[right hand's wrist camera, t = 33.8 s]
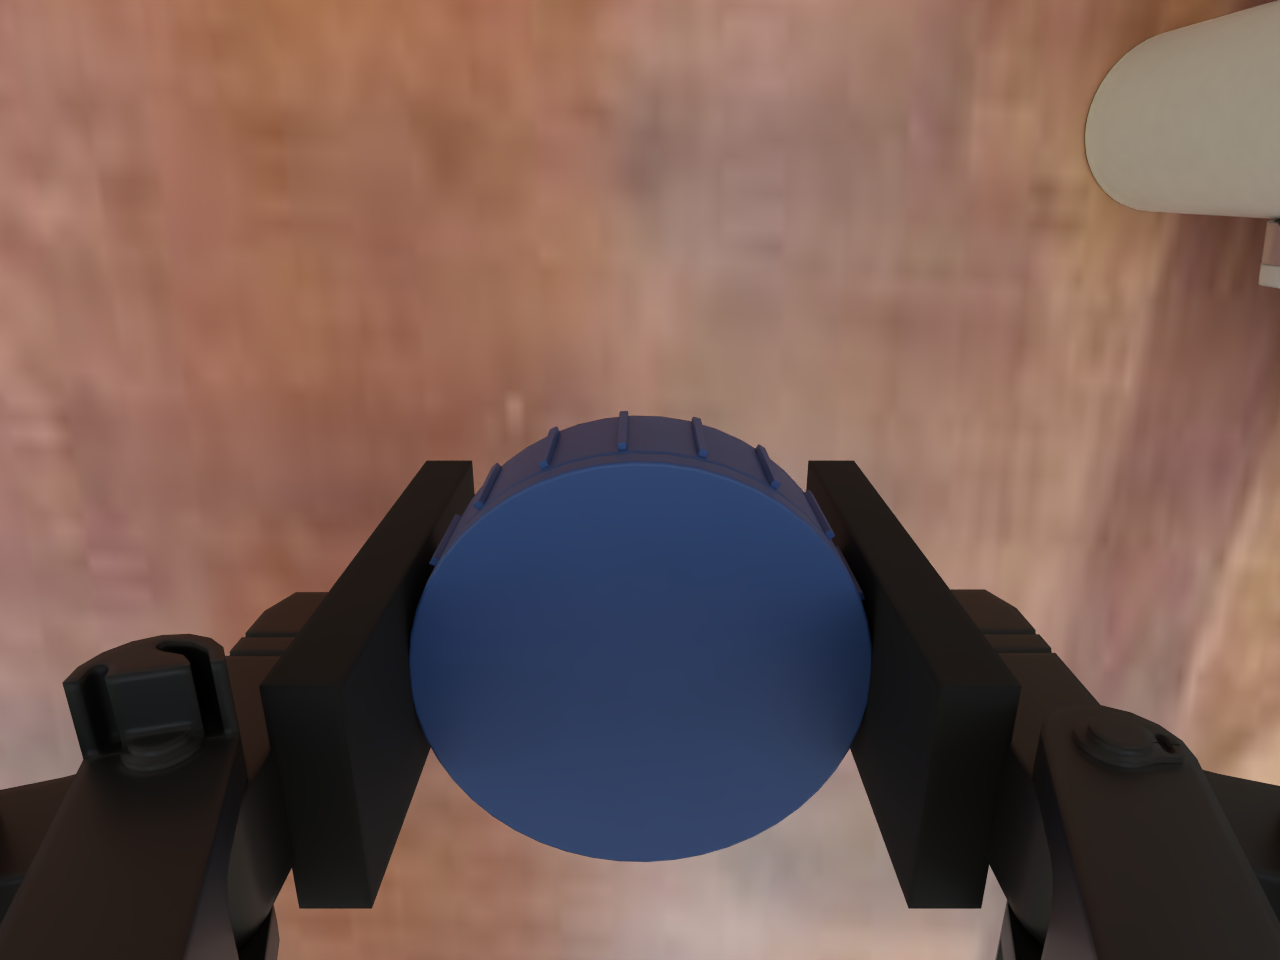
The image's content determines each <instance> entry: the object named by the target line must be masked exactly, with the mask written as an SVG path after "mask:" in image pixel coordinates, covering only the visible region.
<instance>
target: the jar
mask: <svg viewBox="0 0 1280 960" xmlns="http://www.w3.org/2000/svg"><path fill="white" fill-rule="evenodd" d="M1085 147H1086V155H1087V159H1088V163H1089V166H1090V169H1091V171H1092V174H1093V176H1094V177H1095V179H1096V181H1097V183H1098V184H1099V185H1100V187H1101V188H1102V189H1103V190H1104V192H1106V193H1107V194H1108V195H1109V196H1110V197H1111V198H1112V199H1114V200H1115V201H1117V202H1118V203H1120V204H1122V205H1124V206H1127V207H1129V208H1132V209H1136V210H1140V211H1148V212H1164V213H1182V214H1199V215H1216V216H1234V217H1251V218H1268V219H1280V0H1277V1H1273V2H1270V3H1266V4H1263V5H1259V6H1255V7H1252V8H1248V9H1245V10H1241V11H1238V12H1234V13H1231V14H1227V15H1224V16H1220V17H1217V18H1213V19H1210V20H1206V21H1203V22H1199V23H1196V24H1192V25H1189V26H1185V27H1181V28H1178V29H1174V30H1171V31H1168V32H1164V33H1161V34H1158V35H1156V36H1154V37H1151V38H1149V39H1147V40H1145V41H1144V42H1142V43H1140V44H1139V45H1137V46H1136V47H1134V48H1133V49H1132V50H1130V51H1129V52H1128V53H1126V54H1125V55H1124V56H1123V57H1122V58H1121V59H1120V60H1119V61H1118V62H1117V63H1116V64H1115V65H1114V67H1113V68H1112V69H1111V70H1110V71H1109V73H1108V74H1107V76H1106V77H1105V79H1104V80H1103V82H1102V83H1101V85H1100V87H1099V89H1098V90H1097V92H1096V94H1095V96H1094V99H1093V102H1092V104H1091V107H1090V110H1089V114H1088V117H1087V123H1086V130H1085Z"/></svg>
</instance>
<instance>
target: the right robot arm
mask: <svg viewBox="0 0 1280 960" xmlns="http://www.w3.org/2000/svg"><path fill="white" fill-rule="evenodd" d="M808 490H810V491H811V493H812V494H813V495H814V497H815V499H816V501H817V503H818V505H819V507H820V508H821V510H822V512H823V514H824V516H825V518H826V520H827V521H828V523H829V525H830V527H831V529H832V531H833V532H834V534H835V537H833V538H832V539H831V540H832V541H833V543H834V545H835V547H837V546H838V547H839V548H840V550H841V552H842V554H843V556H844V558H845V559H846V561H847V563H848V565H849V567H850V569H851V571H852V573H853V574H854V576H855V578H856V580H857V582H858V584H859V586H860V588H861V589H862V591H863V594H864V597H865V599H864V600H862V603H863V606H864V609H865V613H866V616H867V619H868V623H869V630H870V636H871V642H872V665H871V675H870V684H869V693H868V701H867V706H866V709H865V712H864V716H863V719H862V722H861V725H860V727H859V730H858V732H857V734H856V736H855V738H854V740H853V742H852V744H851V747H850V749H851V752H852V755H853V757H854V760H855V763H856V765H857V768H858V771H859V774H860V776H861V779H862V782H863V785H864V787H865V790H866V793H867V796H868V798H869V801H870V804H871V806H872V809H873V812H874V815H875V817H876V820H877V823H878V826H879V828H880V831H881V834H882V837H883V839H884V842H885V845H886V848H887V850H888V853H889V856H890V858H891V861H892V864H893V867H894V869H895V872H896V875H897V878H898V880H899V883H900V886H901V889H902V891H903V894H904V897H905V900H906V902H907V905H908V908H981V906H982V901H983V895H984V890H985V884H986V879H987V873H988V868H989V865H990V867H991V869H992V870H993V872H994V874H995V876H996V878H997V880H998V882H999V884H1000V886H1001V888H1002V890H1003V892H1004V894H1005V896H1006V898H1007V904H1006V909H1005V914H1004V919H1003V924H1002V929H1001V934H1000V939H999V945H998V950H997V955H996V960H1280V786H1277V785H1272V784H1266V783H1261V782H1256V781H1251V780H1246V779H1241V778H1236V777H1231V776H1226V775H1221V774H1217V773H1213V772H1209V771H1205V770H1202V768H1201V766H1200V764H1199V762H1198V760H1197V758H1196V757H1195V756H1194V755H1193V753H1192V752H1191V751H1190V750H1189V748H1188V747H1187V746H1186V745H1185V744H1184V742H1183V741H1182V740H1180V739H1179V738H1177V737H1176V736H1175V735H1173V734H1172V733H1170V732H1169V731H1167V730H1166V729H1164V728H1163V727H1162V726H1160V725H1158V724H1156V723H1154V722H1151V721H1149V720H1147V719H1145V718H1142V717H1140V716H1138V715H1135V714H1133V713H1131V712H1127V711H1122V710H1118V709H1114V708H1110V707H1106V706H1102V705H1100V704H1099V703H1098V702H1097V701H1096V699H1095V698H1094V697H1093V696H1092V695H1091V694H1090V692H1089V691H1088V690H1087V689H1086V688H1085V687H1084V686H1083V684H1082V683H1081V682H1080V681H1079V680H1078V679H1077V677H1076V676H1075V675H1074V674H1073V673H1072V672H1071V671H1070V669H1069V668H1068V667H1067V666H1066V665H1065V664H1064V662H1063V661H1062V660H1061V659H1060V658H1059V657H1058V656H1057V654H1056V653H1052V652H1051V647H1050V646H1049V645H1048V644H1047V643H1046V642H1045V641H1044V639H1043V638H1042V637H1041V636H1040V635H1039V634H1036V633H1035V629H1034V628H1033V627H1032V626H1031V624H1030V623H1029V622H1028V621H1027V620H1026V619H1025V617H1024V616H1023V615H1022V614H1021V613H1020V612H1019V611H1018V609H1017V608H1015V607H1013V606H1012V605H1010V604H1008V603H1007V602H1005V601H1003V600H1002V599H1000V598H998V597H997V596H995V595H993V594H992V593H990V592H988V591H986V590H950V589H949V588H948V586H947V585H946V584H945V582H944V581H943V580H942V578H941V577H940V576H939V574H938V573H937V572H936V570H935V569H934V568H933V566H932V565H931V564H930V562H929V561H928V560H927V558H926V557H925V555H924V554H923V553H922V551H921V550H920V549H919V547H918V546H917V545H916V543H915V542H914V541H913V539H912V538H911V537H910V535H909V534H908V533H907V531H906V530H905V529H904V527H903V526H902V525H901V523H900V522H899V521H898V519H897V518H896V517H895V515H894V514H893V513H892V511H891V510H890V509H889V507H888V506H887V505H886V503H885V502H884V500H883V499H882V498H881V496H880V495H879V494H878V492H877V491H876V490H875V488H874V487H873V486H872V484H871V483H870V482H869V480H868V479H867V478H866V476H865V475H864V474H863V472H862V471H861V470H860V468H859V467H858V466H857V464H856V463H855V462H854V461H809V462H808V475H807V489H806V491H808ZM473 497H474V482H473V468H472V461H426V462H425V464H424V465H423V466H422V468H421V469H420V470H419V472H418V473H417V474H416V476H415V477H414V478H413V480H412V481H411V482H410V484H409V485H408V486H407V488H406V489H405V490H404V492H403V493H402V495H401V496H400V497H399V499H398V500H397V501H396V503H395V504H394V505H393V507H392V508H391V509H390V511H389V512H388V513H387V515H386V516H385V517H384V519H383V520H382V521H381V523H380V524H379V525H378V527H377V528H376V529H375V531H374V532H373V533H372V535H371V536H370V537H369V539H368V540H367V541H366V543H365V544H364V545H363V547H362V548H361V550H360V551H359V552H358V554H357V555H356V556H355V558H354V559H353V560H352V562H351V563H350V564H349V566H348V567H347V568H346V570H345V571H344V572H343V574H342V575H341V576H340V578H339V579H338V580H337V582H336V583H335V584H334V586H333V587H332V588H331V590H330V591H329V592H296V593H294V594H292V595H291V596H289V597H287V598H286V599H284V600H282V601H281V602H279V603H277V604H276V605H274V606H272V607H271V608H269V609H267V610H266V611H264V612H263V613H262V615H261V616H260V617H259V618H258V619H257V620H256V622H255V623H254V624H253V625H252V626H251V627H250V629H249V630H248V631H247V632H246V636H245V637H242V638H241V639H240V640H239V641H238V643H237V644H236V645H235V646H234V647H233V648H232V650H231V651H230V656H225V654H224V649H223V647H222V646H221V645H220V644H218V643H217V642H216V641H214V640H213V639H211V638H208V637H203V636H198V635H192V634H177V635H161V636H156V637H151V638H146V639H142V640H137V641H132V642H129V643H127V644H124V645H121V646H119V647H116V648H113V649H111V650H108V651H105V652H103V653H101V654H99V655H98V656H96V657H94V658H92V659H91V660H89V661H87V662H86V663H84V664H82V665H80V666H79V667H77V669H76V670H75V671H74V672H73V673H72V674H71V675H70V676H69V677H68V678H67V679H66V680H65V681H64V682H63V687H64V690H65V694H66V697H67V701H68V705H69V708H70V712H71V716H72V719H73V723H74V726H75V730H76V734H77V737H78V741H79V745H80V748H81V752H82V755H83V759H84V760H83V762H82V764H81V766H80V768H79V770H78V772H77V774H75V775H71V776H67V777H63V778H58V779H53V780H48V781H43V782H38V783H33V784H28V785H23V786H18V787H13V788H8V789H3V790H0V960H277V956H278V948H279V932H278V925H277V919H276V914H275V909H274V902H275V900H276V898H277V896H278V894H279V892H280V890H281V888H282V886H283V884H284V882H285V880H286V878H287V876H288V874H289V872H290V870H291V868H292V870H293V876H294V881H295V887H296V892H297V898H298V903H299V908H372V906H373V904H374V901H375V898H376V895H377V893H378V890H379V887H380V885H381V882H382V879H383V876H384V874H385V871H386V868H387V865H388V863H389V860H390V857H391V854H392V852H393V849H394V846H395V843H396V841H397V838H398V835H399V833H400V830H401V827H402V824H403V822H404V819H405V816H406V813H407V811H408V808H409V805H410V802H411V800H412V797H413V794H414V791H415V789H416V786H417V783H418V781H419V778H420V775H421V772H422V770H423V767H424V764H425V761H426V759H427V756H428V753H429V750H430V748H431V746H430V744H429V743H428V741H427V739H426V737H425V735H424V732H423V729H422V727H421V724H420V722H419V719H418V716H417V714H416V710H415V706H414V701H413V696H412V688H411V679H410V669H409V644H410V633H411V629H412V625H413V620H414V616H415V612H416V608H417V605H418V603H419V600H420V598H421V595H422V593H423V591H424V588H425V586H426V583H427V581H428V579H429V577H430V575H431V573H432V571H433V570H434V568H435V566H433V565H431V564H429V563H430V561H431V559H432V557H433V555H434V553H435V551H436V549H437V548H438V546H439V544H440V542H441V540H442V538H443V537H444V535H445V533H446V531H447V529H448V527H449V526H450V524H451V522H452V520H453V518H454V516H455V515H456V514H457V515H459V516H461V517H462V515H463V513H464V511H465V510H466V508H467V506H468V505H469V503H470V501H471V500H472V498H473Z"/></svg>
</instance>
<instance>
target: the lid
mask: <svg viewBox="0 0 1280 960" xmlns="http://www.w3.org/2000/svg"><path fill="white" fill-rule="evenodd" d="M833 537H835V534H834V532H833V531H832V529H831V527H830V525H829V523H828V521H827V520H826V518H825V516H824V514H823V512H822V510H821V508H820V507H819V505H818V503H817V501H816V499H815V497H814V495H813V494H812V493H811V491H810V490H808V491H806V492H805V493H804V492H803V491H802V489H801V488H800V487H799V486H798V485H797V484H796V483H795V482H794V481H793V479H792V478H791V477H790V476H789V475H788V474H787V473H786V472H785V471H784V470H783V469H782V468H780V467H779V466H778V465H777V464H776V463H774V462H773V461H772V460H771V459H770V458H769V456H768V454H767V452H766V449H765V448H764V447H762V446H761V445H758V446H757V447H756V449H755V448H753V447H752V446H750V445H748V444H747V443H745V442H743V441H742V440H740V439H738V438H735V437H733V436H731V435H729V434H726V433H724V432H722V431H720V430H717V429H715V428H711V427H708V426H704V425H702V423H701V419H700V418H696V417H693V418H692V421H686V420H680V419H673V418H667V417H658V416H628V411H621V412H620V417H615V418H605V419H601V420H596V421H592V422H587V423H583V424H578V425H576V426H573V427H570V428H567V429H565V430H562V431H559V430H558V427H555V428H552V429H550V431H549V434H548V437H546V438H544V439H542V440H540V441H538V442H536V443H534V444H532V445H530V446H528V447H527V448H526V449H524V450H523V451H521V452H520V453H518V454H517V455H516V456H514V457H513V458H511V459H510V460H509V461H507V462H506V463H505V464H504V465H503V466H502V467H501V466H500V465H499V464H498V463H496V464H495V465H494V466H493V467H492V468H491V470H490V472H489V474H488V476H487V478H486V480H485V482H484V484H483V486H482V487H481V488H480V490H479V491H478V492H477V493H476V495H475V496H474V497H473V498H472V500H471V501H470V503H469V505H468V506H467V508H466V510H465V511H464V513H463V515H462V517H461V516H459V515H457V514H456V515H455V516H454V518H453V520H452V522H451V524H450V526H449V527H448V529H447V531H446V533H445V535H444V537H443V538H442V540H441V542H440V544H439V546H438V548H437V549H436V551H435V553H434V555H433V557H432V559H431V561H430V563H429V564H431V565H433V566H435V568H434V570H433V571H432V573H431V575H430V577H429V579H428V581H427V583H426V586H425V588H424V591H423V593H422V595H421V598H420V600H419V603H418V605H417V608H416V612H415V616H414V620H413V625H412V629H411V633H410V644H409V669H410V679H411V688H412V696H413V701H414V706H415V710H416V714H417V716H418V719H419V722H420V724H421V727H422V729H423V732H424V735H425V737H426V739H427V741H428V743H429V744H430V746H431V748H432V750H433V752H434V753H435V755H436V757H437V759H438V760H439V762H440V763H441V764H442V766H443V767H444V768H445V770H446V771H447V772H448V774H449V775H450V776H451V778H452V779H453V780H454V781H455V782H456V784H457V785H458V786H459V787H460V788H461V789H462V790H463V791H464V792H465V793H466V794H467V795H468V796H469V797H470V798H471V799H472V800H473V801H474V802H476V803H477V804H478V805H479V806H481V807H482V808H483V809H484V810H486V811H487V812H488V813H489V814H491V815H492V816H493V817H495V818H496V819H498V820H500V821H501V822H503V823H504V824H506V825H508V826H509V827H511V828H512V829H514V830H516V831H518V832H520V833H522V834H524V835H526V836H528V837H530V838H532V839H534V840H536V841H538V842H541V843H544V844H546V845H549V846H552V847H555V848H558V849H561V850H563V851H567V852H571V853H575V854H579V855H583V856H588V857H592V858H599V859H607V860H615V861H633V862H652V861H665V860H676V859H682V858H687V857H693V856H698V855H703V854H706V853H710V852H713V851H717V850H720V849H723V848H727V847H730V846H732V845H734V844H737V843H739V842H742V841H744V840H747V839H749V838H751V837H754V836H756V835H757V834H759V833H761V832H763V831H765V830H766V829H768V828H770V827H772V826H774V825H775V824H777V823H779V822H780V821H781V820H783V819H784V818H786V817H787V816H788V815H790V814H791V813H793V812H794V811H796V810H797V809H798V808H800V807H801V806H802V805H803V804H804V803H805V802H806V801H807V800H808V799H809V798H811V797H812V796H813V795H814V794H815V793H816V792H817V791H818V790H819V789H820V788H821V787H822V786H823V784H824V783H825V782H826V781H827V780H828V778H829V777H830V776H831V775H832V774H833V773H834V771H835V770H836V769H837V767H838V766H839V764H840V763H841V761H842V759H843V758H844V756H845V755H846V753H847V752H848V750H849V749H850V747H851V744H852V742H853V740H854V738H855V736H856V734H857V732H858V730H859V727H860V725H861V722H862V719H863V716H864V712H865V709H866V706H867V701H868V693H869V684H870V675H871V665H872V642H871V636H870V630H869V623H868V619H867V616H866V613H865V609H864V606H863V603H862V600H864V599H865V597H864V594H863V591H862V589H861V588H860V586H859V584H858V582H857V580H856V578H855V576H854V574H853V573H852V571H851V569H850V567H849V565H848V563H847V561H846V559H845V558H844V556H843V554H842V552H841V550H840V548H839V547H838V546H837V547H835V545H834V543H833V541H832V540H831V539H832V538H833Z"/></svg>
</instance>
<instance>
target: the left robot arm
mask: <svg viewBox="0 0 1280 960" xmlns="http://www.w3.org/2000/svg"><path fill="white" fill-rule="evenodd" d="M1260 263H1261V268H1260V275H1259V282H1258V284H1259V285H1261V286H1267V287H1273V288H1280V219H1274V220H1269V221H1266V227H1265V234H1264V241H1263V248H1262V255H1261V262H1260Z"/></svg>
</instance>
